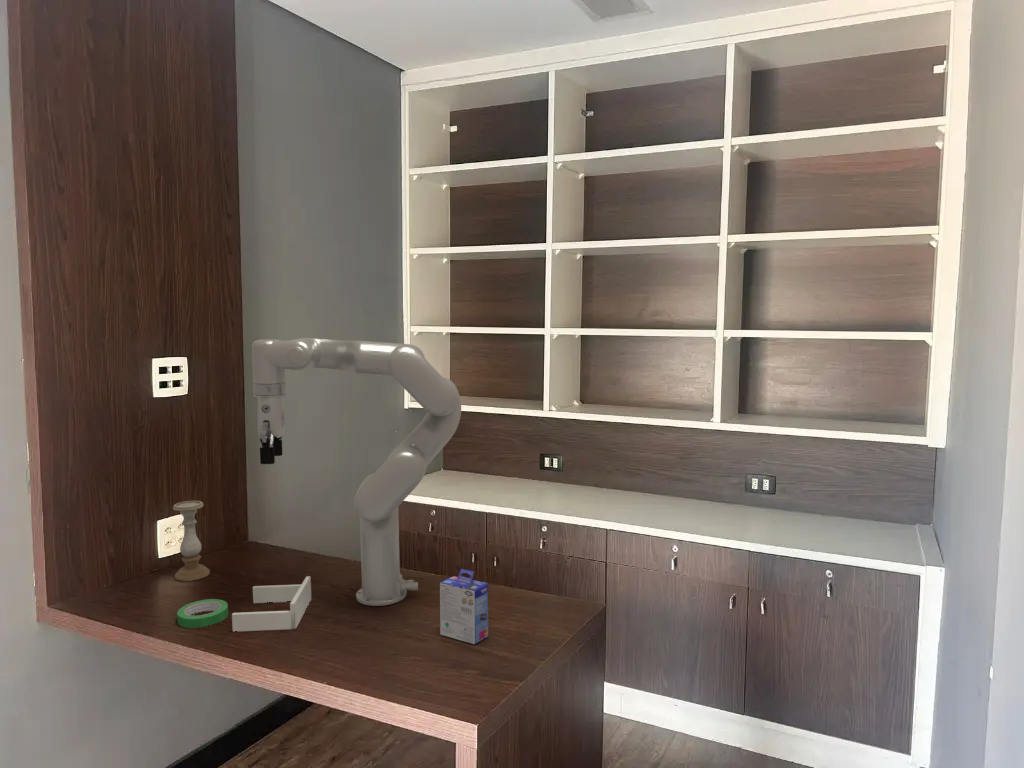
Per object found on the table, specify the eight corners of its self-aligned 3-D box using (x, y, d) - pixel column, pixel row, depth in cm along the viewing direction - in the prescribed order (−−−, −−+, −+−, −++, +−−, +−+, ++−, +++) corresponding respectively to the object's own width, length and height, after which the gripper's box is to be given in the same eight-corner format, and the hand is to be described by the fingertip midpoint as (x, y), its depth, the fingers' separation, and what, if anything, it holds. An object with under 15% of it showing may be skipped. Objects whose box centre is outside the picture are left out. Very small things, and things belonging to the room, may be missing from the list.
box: (311, 599, 180) (310, 576, 179) (295, 629, 163) (294, 603, 162) (254, 601, 179) (253, 578, 178) (232, 631, 162) (231, 606, 161)
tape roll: (209, 631, 163) (208, 619, 163) (167, 627, 166) (166, 615, 166) (237, 611, 174) (237, 600, 174) (198, 607, 177) (197, 597, 176)
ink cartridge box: (490, 635, 158) (489, 572, 157) (476, 645, 154) (474, 580, 152) (454, 626, 163) (452, 564, 162) (439, 635, 159) (437, 572, 157)
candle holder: (179, 584, 191) (174, 510, 189) (171, 575, 198) (166, 503, 196) (213, 576, 197) (209, 504, 195) (204, 567, 203) (200, 498, 201)
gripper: (278, 394, 166) (280, 466, 167) (291, 386, 183) (293, 452, 184) (245, 394, 165) (247, 467, 166) (261, 386, 182) (263, 453, 183)
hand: (271, 459), depth 175 cm, fingers open, 9 cm apart
